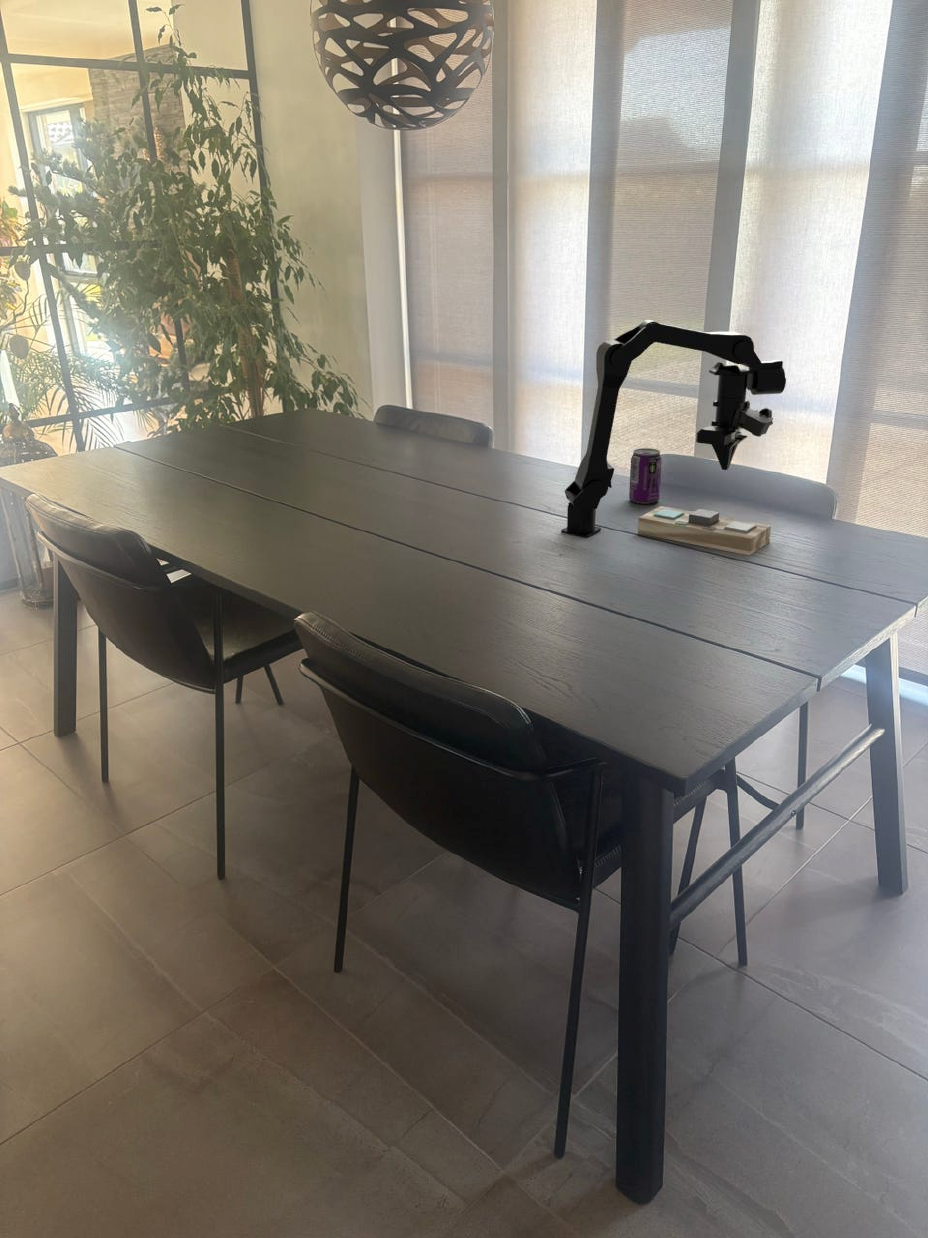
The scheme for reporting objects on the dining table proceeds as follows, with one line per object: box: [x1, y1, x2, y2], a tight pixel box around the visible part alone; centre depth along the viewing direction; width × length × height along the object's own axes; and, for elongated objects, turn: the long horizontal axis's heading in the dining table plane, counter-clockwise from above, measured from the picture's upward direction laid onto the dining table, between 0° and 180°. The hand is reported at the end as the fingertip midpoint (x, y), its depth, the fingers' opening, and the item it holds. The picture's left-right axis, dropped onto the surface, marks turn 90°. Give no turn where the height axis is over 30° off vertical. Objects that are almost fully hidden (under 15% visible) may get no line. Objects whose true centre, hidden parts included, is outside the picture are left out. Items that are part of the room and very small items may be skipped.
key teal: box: [654, 509, 684, 520], centre depth 199 cm, size 5×5×3 cm
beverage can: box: [628, 447, 663, 505], centre depth 219 cm, size 7×7×12 cm
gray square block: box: [688, 508, 720, 527], centre depth 194 cm, size 5×5×3 cm
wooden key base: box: [637, 505, 772, 556], centre depth 195 cm, size 10×25×4 cm, turn 51°
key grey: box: [725, 521, 756, 534], centre depth 190 cm, size 5×5×3 cm
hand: (725, 469), depth 199 cm, fingers closed
